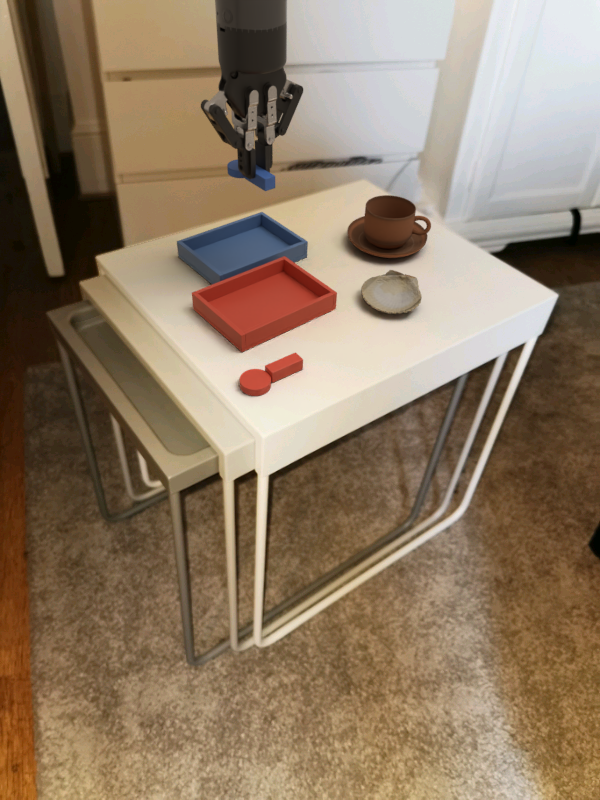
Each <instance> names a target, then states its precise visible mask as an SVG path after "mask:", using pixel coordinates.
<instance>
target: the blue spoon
mask: <svg viewBox="0 0 600 800" xmlns="http://www.w3.org/2000/svg"><path fill="white" fill-rule="evenodd" d="M226 169H227V174H228V176H230V177H232V178H234V179H244V180H245V181H248V182H249V183H251V184H252V185H254V186H256V187H257V188H258V189H261V190H262V191H264V192H267V191H271V190H274V189H276V175H274V174H273V173H272V172H270V173H269V172H268V171H266V170H264V169H262V168H261V167H259V166H257V165H256V174H255V175H256V176H255V178H253V179H248V178H247V177H245V176H243V175H242V173H241V172H240V171H239V169H238V158H237V159H233V160H231V161H229V162H228V163H227V164H226Z"/></svg>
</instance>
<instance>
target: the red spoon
mask: <svg viewBox="0 0 600 800" xmlns="http://www.w3.org/2000/svg"><path fill="white" fill-rule="evenodd" d="M302 370H304V359H303V358H302V356H301V355H299V354H298V353H297V352H292V353H291V354H289V355H286V356H284V357H281V358H279V359H277V360H274V361H272V362H270V363H267V364H266V365H264V370H263V369H261V368H250V369H247V370H246V371H243V372H242V373H241V374H240V376H239V388H240V390H241V392H242V393H244V394H246V395H248V396H252V397H258V396H259V397H260V396H262V395H265V394H267V393H268V392H269V391H270V389H272V383H273V384H274V383H276V382H278V381H279V380H283V379H284V378H287V377H289V376H291V375H293V374H296V373H297V372H300V371H302Z"/></svg>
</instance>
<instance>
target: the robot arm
mask: <svg viewBox="0 0 600 800" xmlns="http://www.w3.org/2000/svg"><path fill="white" fill-rule="evenodd" d="M214 5H215V23H216V24H215V25H216V40H217V56H218V57H217V58H218V59H217V60H218V64H219V68H220V72H221V75H220V78H219V81H218V92H216V93H215V95H214V96H212V98H211V99H210V100H209V99H203V100H201V103H200V109H201V111H202V113H204V115H205V117H206V118H207V120H208V121H209V123H210V124H211V126H212V127H213V129H214V130H215V132H216V133H217V135H218V136H219V139H220V140H221V141H222V142H223V143H225V144H227V145H229V146H231V147H232V148H233V149H235V150H237V151H236V153H237V159H238V169H239V171H240V172H241V173H242V175H243V176H245V177H247V178H248V179H253V178H255V176H256V175H255V174H256V165H257V166H259V167H261V168H262V169H264V170H266V171H268V172H269V173H271V169H272V168H273V164H274V163H273V160H274V159H273V154H274V153H273V151H274V149H273V144H274V142H275V141H276V139H277V138H278V137H280V136H282V137H284V136H285V135H286V134H287V131H288V129H289V126H290V124H291V122H292V120H293V118H294V115H295V113H296V110H297V109H298V108H297V107H298V105H299V103H300V101H301V98H302V96H303V94H304V87H303V86H302V85H300V84H298V83H296V82H293V80H292V81H291V80H289V79H287V78H288V77H287V73H286V71H285V68H284V67H285V65H286V64H287V58H288V57H287V55H288V54H287V53H288V52H287V51H288V50H287V49H288V48H287V46H288V45H287V43H288V41H287V40H288V39H287V38H288V0H214ZM227 105H228V106H229V108H230V109H231V122H230V120H229V118H228V117H227V116H228V115H229V112H228V108H227ZM231 123H232V124H233V125H232V124H231ZM255 137H256V138H257V139H256V140H255Z"/></svg>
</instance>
